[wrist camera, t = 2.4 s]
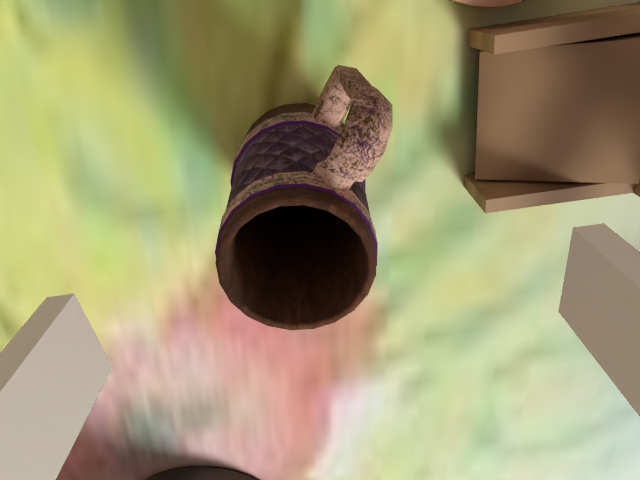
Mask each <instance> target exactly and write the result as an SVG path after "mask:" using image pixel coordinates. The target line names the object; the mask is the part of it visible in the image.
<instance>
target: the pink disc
mask: <svg viewBox="0 0 640 480" xmlns="http://www.w3.org/2000/svg"><path fill="white" fill-rule="evenodd" d="M450 1H453V2H455V3H459V4H464V5H471V6H483V7H499V6H507V5H511V4H516V3H519V2H522V1H524V0H450Z"/></svg>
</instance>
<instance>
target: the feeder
mask: <svg viewBox="0 0 640 480" xmlns="http://www.w3.org/2000/svg"><path fill="white" fill-rule="evenodd" d="M618 35H619V38H608V39H599V38H605V37H612V36H618ZM592 39H596V40H592ZM468 46H470V47H473V48H476V49H479V50H481V51H480V58H479V84H478V110H477V136H476V162H475V174H473V175H466V176H465V189H466V190H467V191H468V192H469V194H470V195H471V196H472V197H473V199H474V200H475V201H476V202H477V203H478V205H479V206H480V207H481V208H482V210H483V211H484V212H485V213H490V212H497V211H504V210H511V209H519V208H526V207H533V206H540V205H548V204H555V203H562V202H569V201H576V200H584V199H591V198H598V197H605V196H613V195H620V194H627V193H635V194H636V195H638V196H639V197H640V3H634V4H628V5H621V6H615V7H609V8H602V9H596V10H589V11H583V12H577V13H570V14H564V15H557V16H551V17H544V18H538V19H532V20H525V21H519V22H512V23H506V24H500V25H493V26H487V27H480V28H474V29H469V37H468Z"/></svg>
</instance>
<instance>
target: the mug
mask: <svg viewBox="0 0 640 480" xmlns="http://www.w3.org/2000/svg"><path fill="white" fill-rule="evenodd" d="M350 106H351V107H350ZM349 108H350V110H349ZM348 110H349V113H348V116H347V118H346V121H345V124H343V123H342V121H343V119H344V117H345V115H346V113H347V111H348ZM391 130H392V104H391V103H390V102H389V101H388V100H387V99H386V98H385V97H384V96H383V94H382V93H381V92H380V91H379V90H378V89H376V88H374V87H373V86H371V84H370V83H369V82H368V81H367V80H366V79H365V77H364V76H363V75H362V74H361V73H360V72H359V71H358V70H357V69H356V68H351V67H346V66H341V65H338V66H336V67H335V68H334V70H333V72H332V73H331V75H330V77H329V79H328V81H327V83H326V85H325V87H324V89H323V91H322V93H321V96H320V98H319V100H318V102H317V104H316V106H312V105H308V104H288V105H283V106H281V107H278V108H275V109H273V110H270V111H268V112H266V113H265V114H264V115H263V116H262V117H260V118H259V119H258V120H257V121H256V122H255V123H253V124H252V126H251V128H250V130H249V131H248V133H247V135H246V136H245V138H244V140H243V142H242V144H241V146H240V147H239V149H238V151H237V154H236V157H235V161H234V166H233V171H232V176H231V192H230V196H229V200H228V204H227V208H226V211H225V213H224V215H223V216H222V220H221V224H220V229H219V234H218V239H217V245H216V250H215V255H216V267H217V272H218V277H219V282H220V285H221V287H222V288H223V290H224V292H225V293H226V295H227V296H228V298H229V300H230V301H231V303H233V304H234V305H235V306H236V307H237V308H238V309H240V310H241V311H242V312H243V313H244V314H245V315H247V316H248V317H250V318H252V319H254V320H256V321H259V322H261V323H263V324H265V325H267V326H271V327H277V328H282V329H287V330H301V329H315V328H318V327H321V326H324V325H328V324H331V323H334V322H336V321H338V320H339V319H341V318H343V317H344V316H346V315H347V314H349V313H351V312H352V311H354V310H355V309H356V307H357V306H358V305H359V304H360V303H361V302H362V301H363V299H364V298H365V297H366V296H367V295H368V293H369V291H370V288H371V286H372V283H373V281H374V278H375V276H376V266H377V238H376V233H375V228H374V226H373V223H372V220H371V217H370V213H369V208H368V203H367V198H366V193H365V178H366V177H367V176H368V175H369V174H370V173H371V172H372V170H373V169H374V167H375V166H376V164H377V162H378V161H379V159H380V158H381V156H382V154H383V153H384V151H385V148H386V145H387V142H388V139H389V136H390V133H391Z"/></svg>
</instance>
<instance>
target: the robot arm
mask: <svg viewBox="0 0 640 480" xmlns="http://www.w3.org/2000/svg"><path fill="white" fill-rule="evenodd" d="M559 313H560V314H561V315H562V317H563V318H564V319H565V321H566V322H567V323H568V324H569V326H570V327H571V328H572V330H573V331H574V332H575V334H576V335H577V336H578V337H579V339H580V340H581V341H582V343H583V344H584V345H585V346H586V348H587V349H588V350H589V352H590V353H591V354H592V355H593V357H594V358H595V359H596V361H597V362H598V363H599V365H600V366H601V367H602V368H603V370H604V371H605V372H606V374H607V375H608V376H609V377H610V379H611V380H612V381H613V383H614V384H615V385H616V386H617V388H618V389H619V390H620V392H621V393H622V394H623V395H624V397H625V398H626V399H627V401H628V402H629V403H630V405H631V406H632V407H633V408H634V410H635V411H636V412H637V414H638V415H639V416H640V252H639V251H638V250H636V249H635V248H634V247H633V246H631V245H630V244H629V243H628V242H626V241H625V240H624V239H623V238H621V237H620V236H619V235H618V234H616V233H615V232H614V231H613V230H611V229H610V228H609V227H608V226H606V225H605V224H597V225H589V226H581V227H574V228H573V231H572V237H571V242H570V248H569V254H568V260H567V266H566V271H565V277H564V283H563V289H562V295H561V300H560V306H559ZM112 368H113V366H112V364H111V362H110V360H109V359H108V357H107V355H106V353H105V351H104V349H103V347H102V345H101V343H100V341H99V340H98V338H97V336H96V334H95V332H94V330H93V328H92V326H91V324H90V322H89V321H88V319H87V317H86V315H85V313H84V311H83V309H82V307H81V305H80V304H79V302H78V300H77V298H76V296H75V294H68V295H61V296H53V297H47V298H46V299H45V300H44V301H43V302H42V304H41V305H40V306H39V307H38V308H37V310H36V311H35V312H34V313H33V315H32V316H31V317H30V318H29V319H28V321H27V322H26V323H25V324H24V325H23V327H22V328H21V329H20V330H19V331H18V333H17V334H16V335H15V336H14V337H13V339H12V340H11V341H10V342H9V343H8V345H7V346H6V347H5V348H4V349H3V351H2V352H1V353H0V480H56V478H57V476H58V474H59V472H60V470H61V468H62V466H63V464H64V462H65V460H66V458H67V456H68V455H69V453H70V451H71V449H72V447H73V445H74V443H75V441H76V439H77V437H78V435H79V433H80V431H81V429H82V427H83V425H84V423H85V421H86V419H87V417H88V415H89V413H90V411H91V409H92V407H93V405H94V403H95V401H96V399H97V397H98V395H99V393H100V391H101V389H102V387H103V385H104V383H105V381H106V380H107V378H108V376H109V374H110V372H111V370H112ZM147 480H256V479H254V478H252V477H250V476H247V475H244V474H242V473H238V472H235V471H231V470H226V469H221V468H212V467H188V468H179V469H174V470H170V471H166V472H163V473H160V474H157V475H155V476H153V477H151V478H149V479H147Z"/></svg>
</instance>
